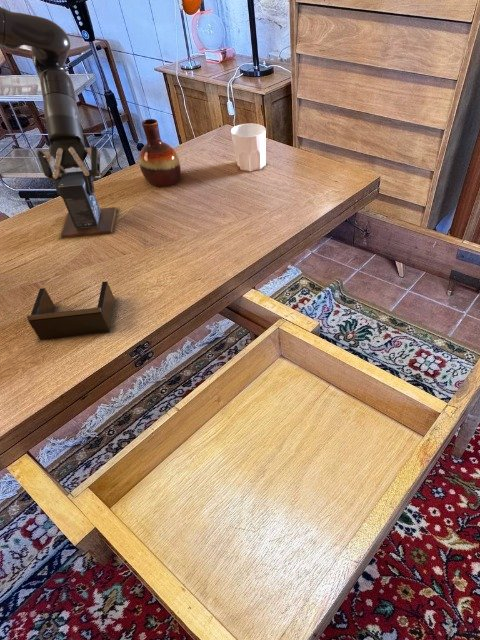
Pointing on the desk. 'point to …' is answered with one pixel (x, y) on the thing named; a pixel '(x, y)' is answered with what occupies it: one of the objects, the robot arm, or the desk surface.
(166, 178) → the vase
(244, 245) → the desk surface
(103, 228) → the plate
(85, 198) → the box
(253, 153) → the cup
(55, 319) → the dark brown open tray
